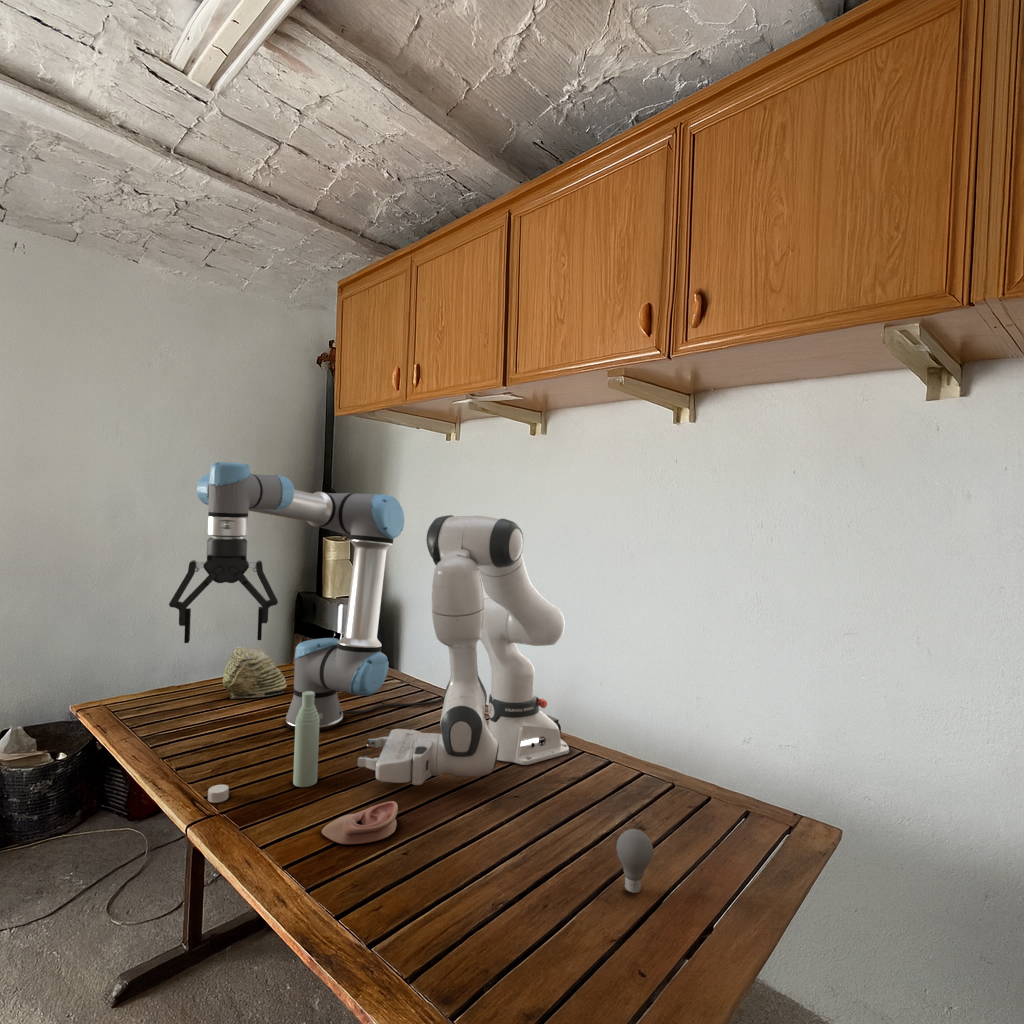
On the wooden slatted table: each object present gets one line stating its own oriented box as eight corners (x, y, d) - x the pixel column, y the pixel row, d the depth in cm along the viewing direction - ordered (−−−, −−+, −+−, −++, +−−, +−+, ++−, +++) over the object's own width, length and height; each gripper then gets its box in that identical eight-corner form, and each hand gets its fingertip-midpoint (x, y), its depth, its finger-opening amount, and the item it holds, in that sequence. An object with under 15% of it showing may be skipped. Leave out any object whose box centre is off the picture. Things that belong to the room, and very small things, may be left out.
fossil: (218, 695, 195) (220, 647, 195) (278, 685, 208) (279, 640, 207) (228, 703, 189) (230, 653, 188) (289, 692, 201) (290, 645, 201)
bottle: (298, 776, 143) (302, 688, 143) (320, 778, 143) (324, 690, 142) (289, 786, 138) (292, 695, 138) (311, 788, 138) (315, 697, 137)
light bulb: (610, 879, 108) (613, 822, 108) (644, 879, 109) (647, 822, 109) (619, 902, 102) (622, 840, 102) (655, 901, 103) (658, 840, 103)
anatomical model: (313, 818, 117) (342, 790, 128) (313, 839, 117) (341, 810, 128) (381, 829, 114) (404, 800, 125) (380, 850, 114) (403, 819, 125)
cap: (204, 803, 129) (205, 793, 129) (211, 794, 133) (211, 784, 133) (225, 802, 129) (225, 792, 129) (230, 793, 133) (231, 784, 133)
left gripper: (155, 537, 122) (152, 647, 122) (292, 539, 131) (288, 641, 132) (161, 535, 129) (157, 638, 129) (290, 537, 138) (287, 633, 139)
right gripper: (430, 723, 151) (372, 721, 151) (419, 759, 131) (352, 757, 131) (429, 749, 151) (371, 747, 151) (418, 789, 131) (351, 787, 131)
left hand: (223, 640), depth 131 cm, fingers open, 13 cm apart
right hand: (362, 752), depth 141 cm, fingers open, 8 cm apart
